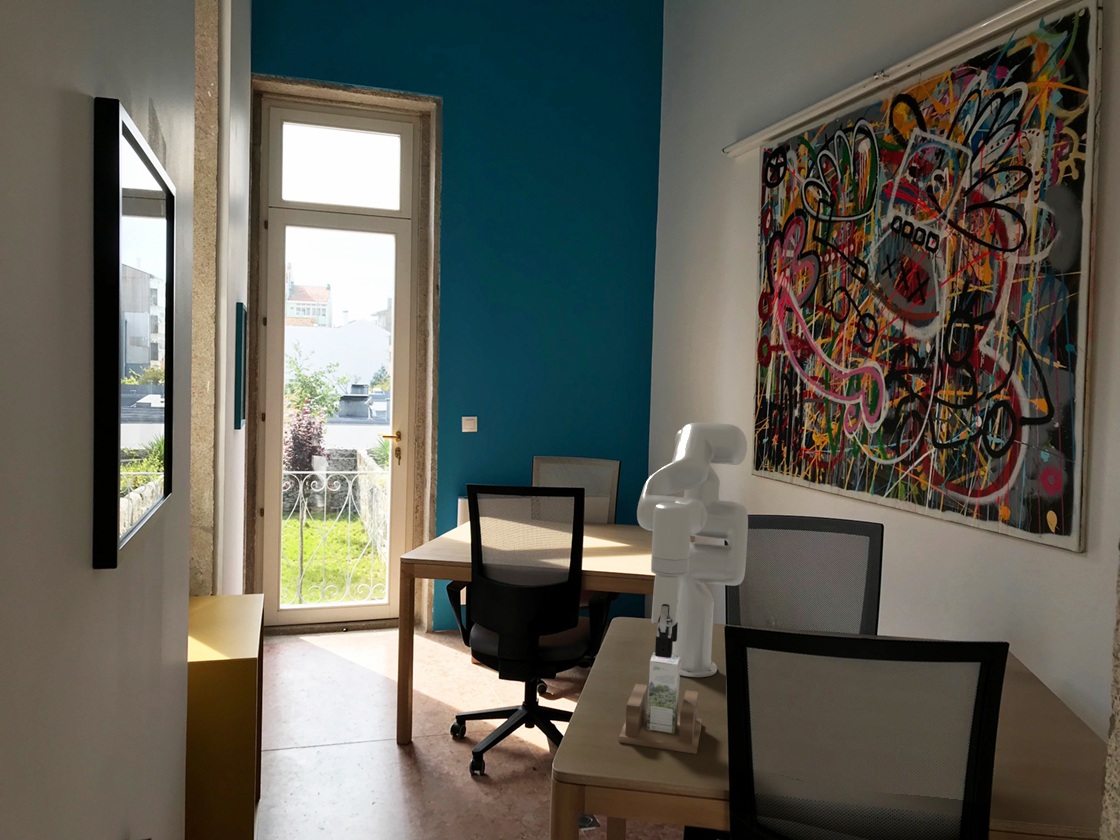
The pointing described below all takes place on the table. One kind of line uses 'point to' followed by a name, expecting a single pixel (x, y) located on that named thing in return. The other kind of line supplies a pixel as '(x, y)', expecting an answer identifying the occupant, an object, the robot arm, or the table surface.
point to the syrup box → (663, 694)
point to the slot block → (639, 735)
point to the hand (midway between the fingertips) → (666, 648)
